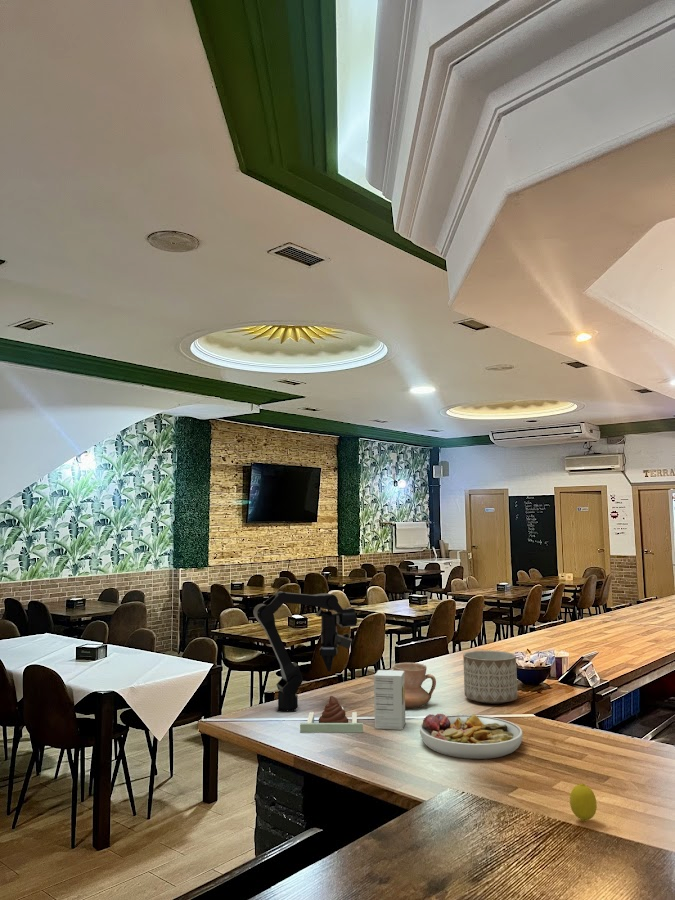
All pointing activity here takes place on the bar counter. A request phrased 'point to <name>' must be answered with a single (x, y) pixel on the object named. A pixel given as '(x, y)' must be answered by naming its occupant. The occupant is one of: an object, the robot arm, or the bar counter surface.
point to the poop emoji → (333, 712)
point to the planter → (490, 676)
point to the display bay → (330, 726)
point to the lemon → (583, 802)
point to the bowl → (470, 736)
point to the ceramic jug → (415, 684)
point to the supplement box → (389, 699)
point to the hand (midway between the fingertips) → (329, 671)
